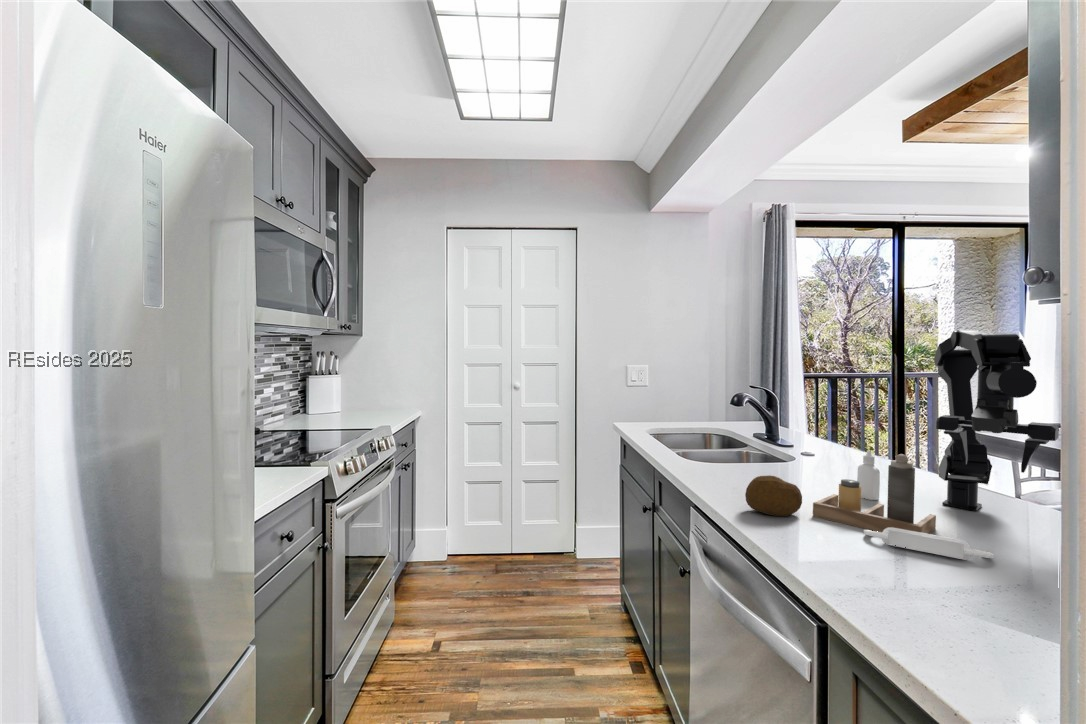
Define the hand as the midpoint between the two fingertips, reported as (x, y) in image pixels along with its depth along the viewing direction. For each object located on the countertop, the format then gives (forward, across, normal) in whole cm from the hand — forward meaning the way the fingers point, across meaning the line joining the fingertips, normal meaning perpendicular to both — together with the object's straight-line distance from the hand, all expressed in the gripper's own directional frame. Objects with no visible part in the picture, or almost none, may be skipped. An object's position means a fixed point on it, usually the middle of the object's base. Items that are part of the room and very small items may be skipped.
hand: (993, 468), depth 108 cm
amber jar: (+13, -22, -14) cm, 29 cm away
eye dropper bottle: (+13, -25, +6) cm, 29 cm away
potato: (+13, -34, -26) cm, 45 cm away
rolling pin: (+14, -6, -23) cm, 28 cm away
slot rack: (+13, -18, -14) cm, 26 cm away
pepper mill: (+13, -12, -14) cm, 23 cm away
